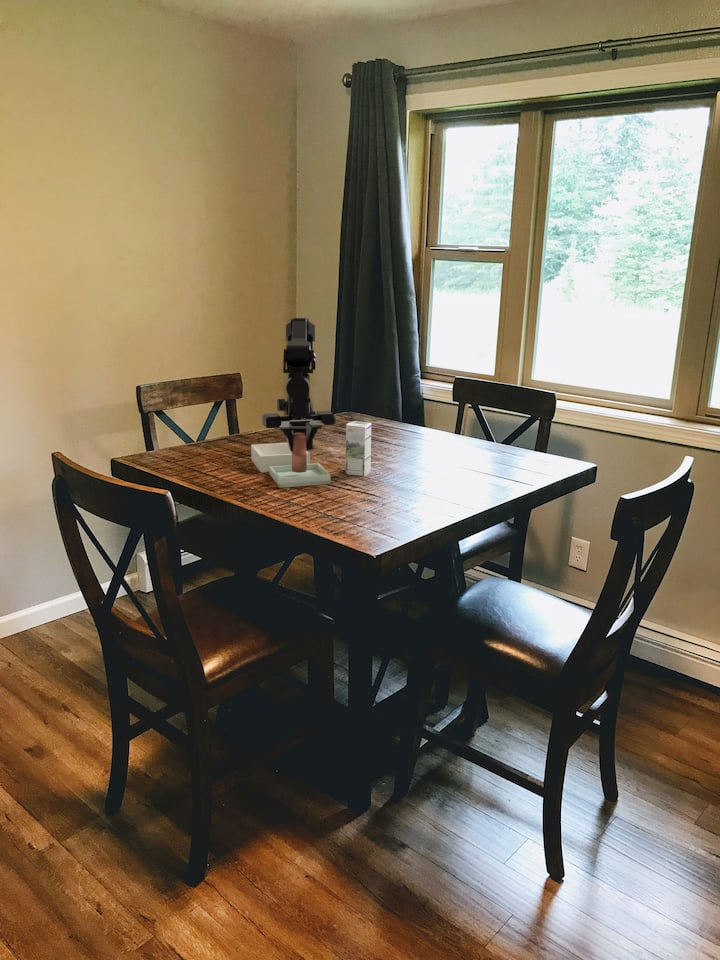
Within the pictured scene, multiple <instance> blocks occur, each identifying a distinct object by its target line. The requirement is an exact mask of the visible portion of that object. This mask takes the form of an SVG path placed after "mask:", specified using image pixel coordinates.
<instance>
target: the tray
mask: <svg viewBox="0 0 720 960" xmlns="http://www.w3.org/2000/svg"><path fill="white" fill-rule="evenodd" d="M268 473H269V475H270V477H271V478H272V479H273V480H274V482H275V483H276V485H277V488H279V489H280V488H282V489H283V488H291V487H292V488H293V487H294V488H295V487H304V486H307V487H309V486H317V485H330V484H331V477H332V476H331V473H329V472H328V471H327V470H326V469H325V468H324V467H323V466H322V465H321V464H320V463H318V462H317V463H310V464H307V471H306V472H302V473H296V472H293V471H292V465H287V466H272V467H269V472H268Z"/></svg>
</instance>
